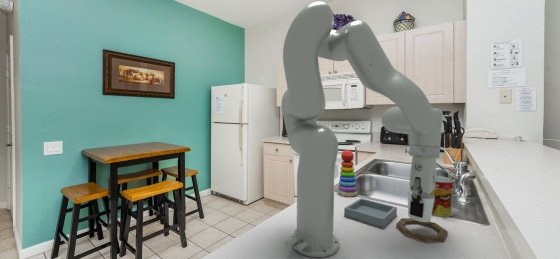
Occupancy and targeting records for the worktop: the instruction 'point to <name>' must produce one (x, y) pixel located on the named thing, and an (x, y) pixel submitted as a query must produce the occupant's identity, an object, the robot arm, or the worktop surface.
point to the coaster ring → (420, 237)
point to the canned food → (443, 197)
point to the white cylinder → (427, 209)
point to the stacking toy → (347, 175)
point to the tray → (371, 213)
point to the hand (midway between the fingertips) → (419, 211)
